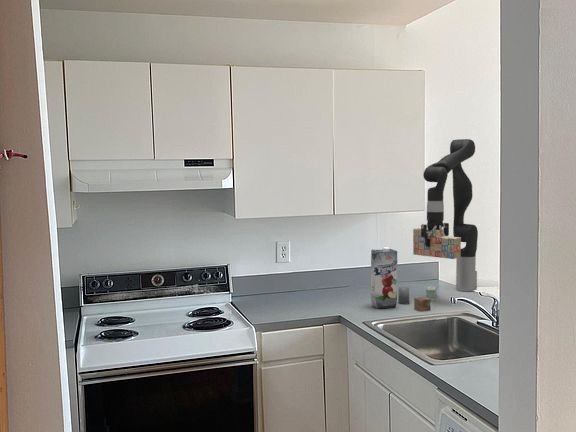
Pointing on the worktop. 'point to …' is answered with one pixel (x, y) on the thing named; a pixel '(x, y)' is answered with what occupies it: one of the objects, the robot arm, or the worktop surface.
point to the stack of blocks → (436, 245)
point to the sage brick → (431, 292)
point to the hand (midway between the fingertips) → (434, 246)
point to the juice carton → (384, 278)
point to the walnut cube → (422, 304)
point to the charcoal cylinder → (403, 295)
